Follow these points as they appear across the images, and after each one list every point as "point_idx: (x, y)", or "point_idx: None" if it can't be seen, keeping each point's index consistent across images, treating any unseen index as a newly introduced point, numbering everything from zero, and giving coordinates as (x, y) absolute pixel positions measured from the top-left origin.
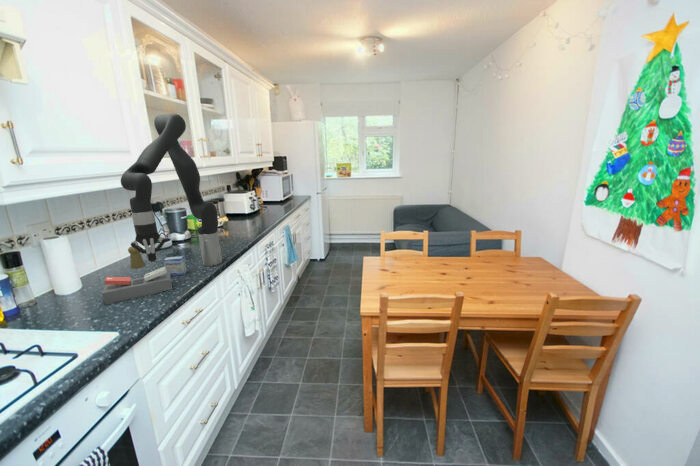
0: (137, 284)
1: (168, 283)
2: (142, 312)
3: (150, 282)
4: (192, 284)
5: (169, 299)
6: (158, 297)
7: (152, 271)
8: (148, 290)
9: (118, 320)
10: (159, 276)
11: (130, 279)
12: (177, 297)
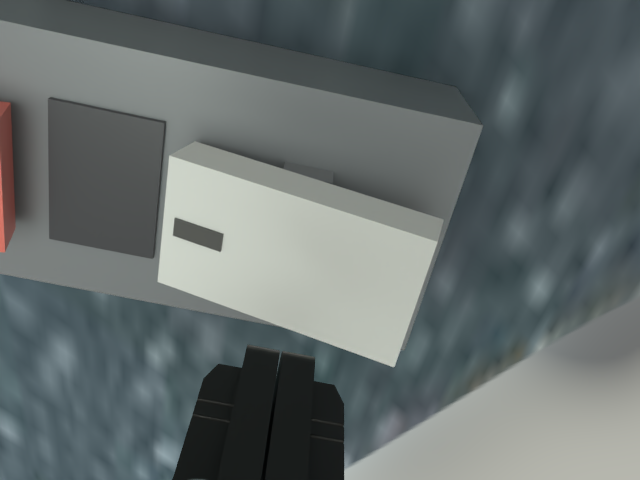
0: (97, 253)
1: None
2: (149, 470)
3: None
4: (571, 292)
5: None
6: (268, 341)
7: (267, 191)
8: None
9: (24, 470)
10: (339, 183)
11: (4, 162)
12: (379, 428)
